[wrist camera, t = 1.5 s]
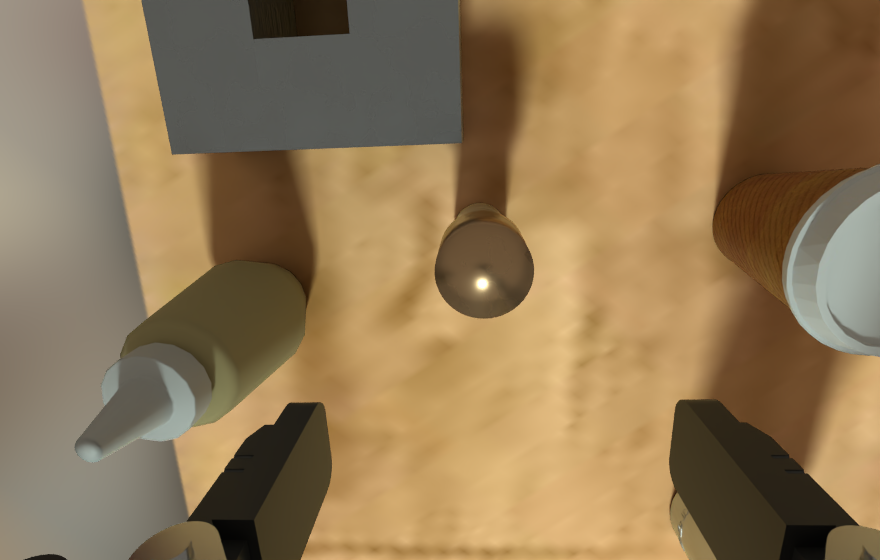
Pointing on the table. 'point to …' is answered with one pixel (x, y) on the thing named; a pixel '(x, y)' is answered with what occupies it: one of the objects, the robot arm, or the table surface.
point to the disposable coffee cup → (812, 249)
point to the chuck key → (483, 263)
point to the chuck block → (306, 75)
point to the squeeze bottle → (198, 356)
